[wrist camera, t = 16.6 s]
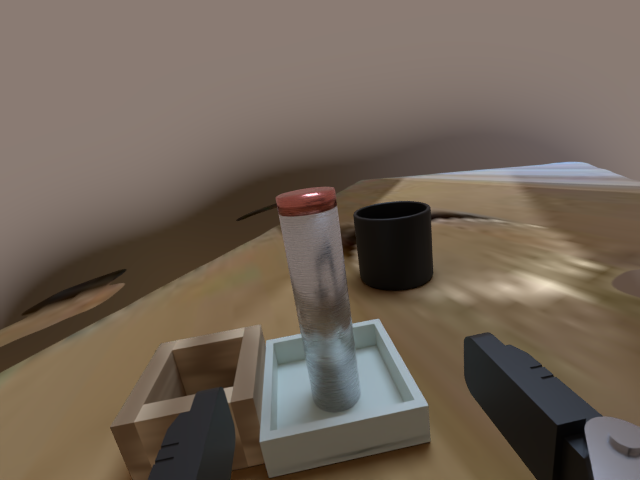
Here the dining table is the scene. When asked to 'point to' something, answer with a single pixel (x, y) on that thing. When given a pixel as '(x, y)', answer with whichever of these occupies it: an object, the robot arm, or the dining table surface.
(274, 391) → the tray
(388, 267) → the mug
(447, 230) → the dining table surface
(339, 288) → the cylinder
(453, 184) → the dining table surface
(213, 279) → the dining table surface
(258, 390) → the block
